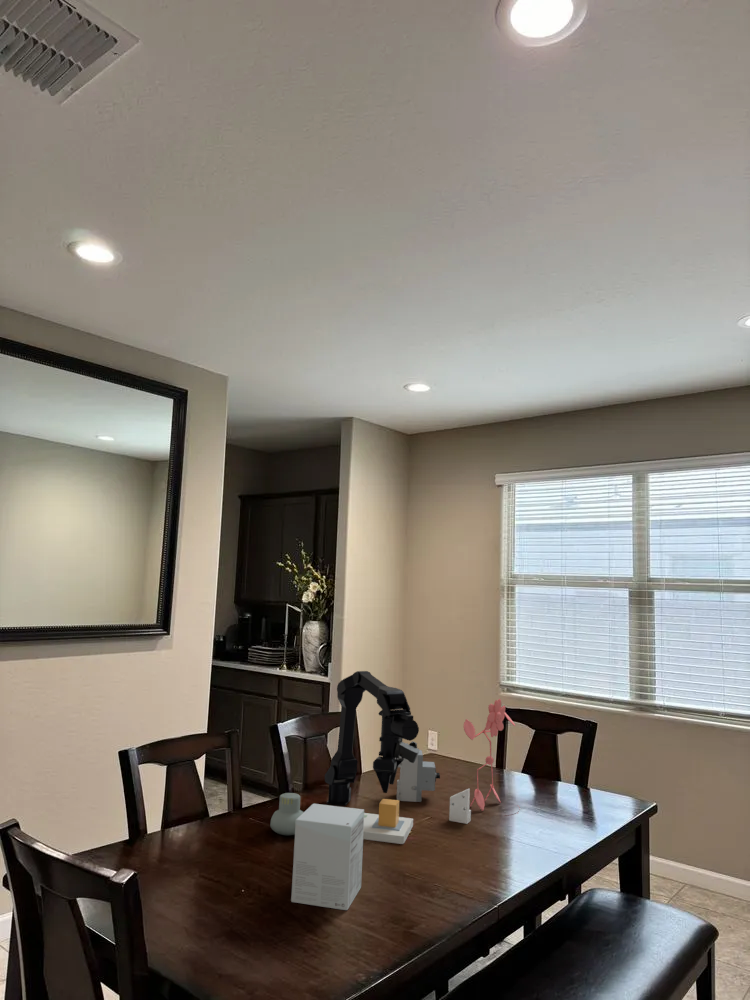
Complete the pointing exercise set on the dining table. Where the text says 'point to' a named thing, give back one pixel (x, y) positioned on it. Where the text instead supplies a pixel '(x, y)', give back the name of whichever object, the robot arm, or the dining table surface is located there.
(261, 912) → the dining table surface
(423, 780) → the circuit breaker
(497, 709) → the figurine
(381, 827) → the breaker panel
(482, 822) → the dining table surface
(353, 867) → the supplement box
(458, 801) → the white wedge bracket
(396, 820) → the cap
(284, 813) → the air freshener
